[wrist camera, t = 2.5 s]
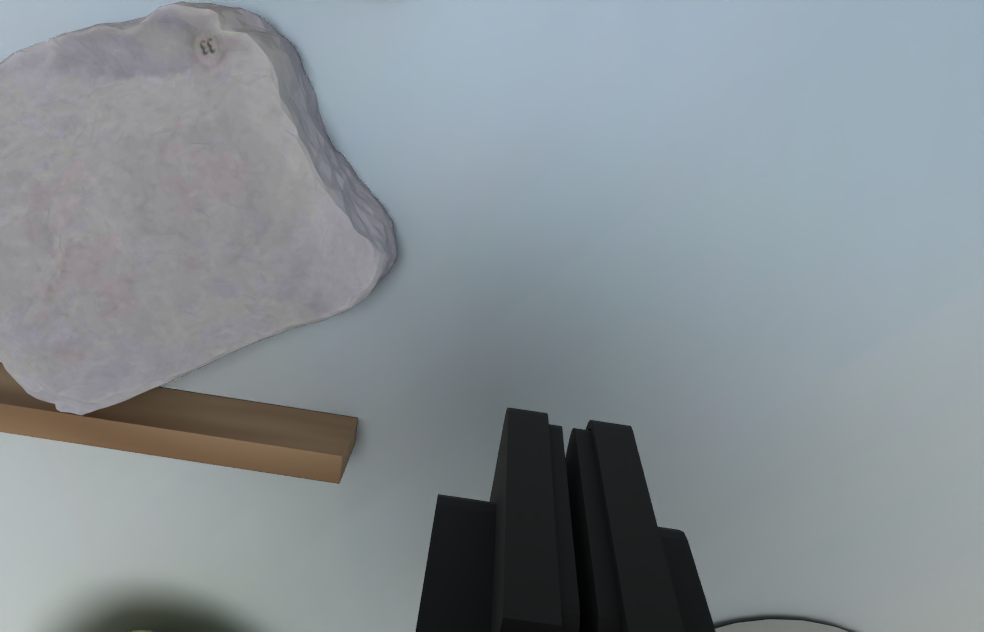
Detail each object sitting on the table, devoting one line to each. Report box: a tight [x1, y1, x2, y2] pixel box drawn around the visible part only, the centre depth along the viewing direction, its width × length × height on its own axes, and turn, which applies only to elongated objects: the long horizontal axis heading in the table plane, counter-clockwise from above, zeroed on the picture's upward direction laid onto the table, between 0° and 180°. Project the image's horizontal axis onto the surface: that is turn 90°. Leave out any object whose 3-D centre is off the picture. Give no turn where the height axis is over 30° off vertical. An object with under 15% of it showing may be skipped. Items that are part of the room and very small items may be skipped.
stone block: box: [0, 2, 397, 416], centre depth 24 cm, size 12×5×10 cm
